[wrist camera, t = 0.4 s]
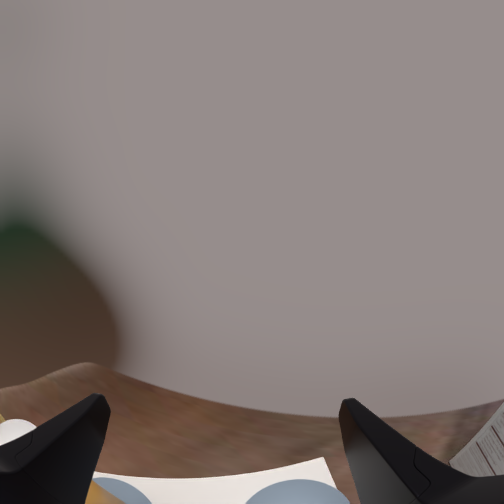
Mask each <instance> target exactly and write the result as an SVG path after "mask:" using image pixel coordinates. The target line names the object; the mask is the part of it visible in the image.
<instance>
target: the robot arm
mask: <svg viewBox="0 0 504 504" xmlns="http://www.w3.org/2000/svg"><path fill="white" fill-rule="evenodd" d="M110 413H111V410H110V407H109V405H108V403H107V401H106V399H105V397H104V395H102V394H98V393H93V394H91V395H90V396H88V397H86V398H85V399H83V400H82V401H80V402H78V403H77V404H75V405H73V406H72V407H70V408H69V409H67V410H65V411H64V412H62V413H60V414H59V415H57V416H55V417H54V418H52V419H50V420H49V421H47V422H45V423H43V424H42V425H40V426H38V427H37V428H35V429H34V430H31V431H30V432H28V433H26V434H24V435H22V436H21V437H19V438H16V439H14V440H12V441H10V442H7V443H5V444H3V445H0V504H85V502H86V498H87V494H88V491H89V487H90V484H91V481H92V477H93V474H94V471H95V468H96V465H97V462H98V459H99V456H100V453H101V450H102V447H103V443H104V440H105V435H106V431H107V426H108V422H109V418H110ZM339 422H340V427H341V433H342V439H343V444H344V450H345V454H346V457H347V460H348V463H349V467H350V470H351V473H352V476H353V479H354V483H355V486H356V489H357V493H358V496H359V499H360V502H361V504H504V474H503V475H495V476H484V477H475V476H470V475H467V474H465V473H463V472H460V471H458V470H456V469H454V468H452V467H450V466H448V465H446V464H444V463H442V462H441V461H439V460H437V459H435V458H434V457H432V456H430V455H429V454H427V453H426V452H424V451H423V450H422V449H420V448H419V447H416V445H415V444H413V443H412V442H411V441H409V440H408V439H406V438H405V437H404V436H402V435H401V434H400V433H398V432H397V431H396V430H394V429H393V428H392V427H391V426H389V425H388V424H387V423H385V422H384V421H383V420H381V419H380V418H379V417H378V416H376V415H375V414H374V413H372V412H371V411H370V410H369V409H367V408H366V407H365V406H363V405H362V404H361V403H360V402H359V401H357V400H356V399H355V398H349V399H344V400H343V401H342V404H341V408H340V411H339Z"/></svg>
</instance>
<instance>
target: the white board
mask: <svg viewBox="0 0 504 504" xmlns="http://www.w3.org/2000/svg"><path fill="white" fill-rule="evenodd" d="M92 480H93V481H94V482H96V483H97V484H98V485H100V486H101V487H103V488H104V489H105V490H107V491H108V492H110V493H111V494H113V495H114V496H116V497H117V498H119V499H120V500H122V501H123V502H124V503H126V504H350V502H349V501H348V499H347V498H346V497H345V496H344V495H343V494H342V493H341V492H340V491H338V490H337V488H336V486H335V484H334V481H333V479H332V477H331V474H330V472H329V469H328V467H327V465H326V462H325V460H324V458H323V457H321V458H317V459H314V460H310V461H307V462H303V463H299V464H295V465H290V466H286V467H281V468H277V469H272V470H266V471H261V472H254V473H248V474H241V475H232V476H223V477H210V478H190V479H163V478H142V477H130V476H121V475H113V474H106V473H100V472H94V474H93V477H92Z"/></svg>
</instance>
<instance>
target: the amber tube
mask: <svg viewBox="0 0 504 504" xmlns="http://www.w3.org/2000/svg"><path fill="white" fill-rule="evenodd" d="M35 428H37V427H36V426H35V425H33V424H32V423H30V422H28V421H25V420H21V419H12V420H8V421H5V422H3V423H1V424H0V445H3V444H5V443H7V442H10V441H12V440H14V439H16V438H19V437H21V436H22V435H24V434H26V433H28V432H30V431H31V430H34V429H35ZM85 504H126V503H124V502H123V501H122V500H120V499H119V498H117V497H116V496H114V495H113V494H111V493H110V492H108V491H107V490H105V489H104V488H103V487H101V486H100V485H98V484H97V483H96V482H94V481H93V480H92V481H91V484H90V487H89V491H88V494H87V498H86V502H85Z"/></svg>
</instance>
